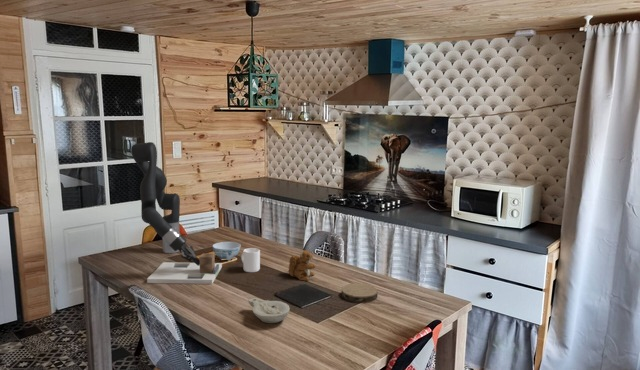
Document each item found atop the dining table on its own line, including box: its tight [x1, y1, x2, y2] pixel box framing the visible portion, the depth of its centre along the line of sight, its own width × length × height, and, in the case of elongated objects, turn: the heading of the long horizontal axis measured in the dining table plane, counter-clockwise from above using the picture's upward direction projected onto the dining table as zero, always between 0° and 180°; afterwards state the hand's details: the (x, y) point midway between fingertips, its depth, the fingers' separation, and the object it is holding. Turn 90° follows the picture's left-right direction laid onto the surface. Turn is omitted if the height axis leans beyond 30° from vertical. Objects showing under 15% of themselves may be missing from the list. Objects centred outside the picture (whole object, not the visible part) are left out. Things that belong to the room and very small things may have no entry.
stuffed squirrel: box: [287, 249, 316, 282], centre depth 234 cm, size 10×14×13 cm
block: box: [199, 253, 216, 273], centre depth 233 cm, size 6×6×8 cm
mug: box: [240, 247, 261, 273], centre depth 244 cm, size 12×8×10 cm
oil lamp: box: [248, 297, 290, 324], centre depth 187 cm, size 21×14×5 cm
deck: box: [146, 261, 223, 285], centre depth 234 cm, size 30×25×4 cm
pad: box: [201, 269, 220, 279], centre depth 234 cm, size 7×9×2 cm
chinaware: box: [212, 241, 242, 261], centre depth 259 cm, size 15×15×8 cm
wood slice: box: [341, 282, 379, 304], centre depth 212 cm, size 16×16×3 cm
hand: (200, 264), depth 233 cm, fingers closed
